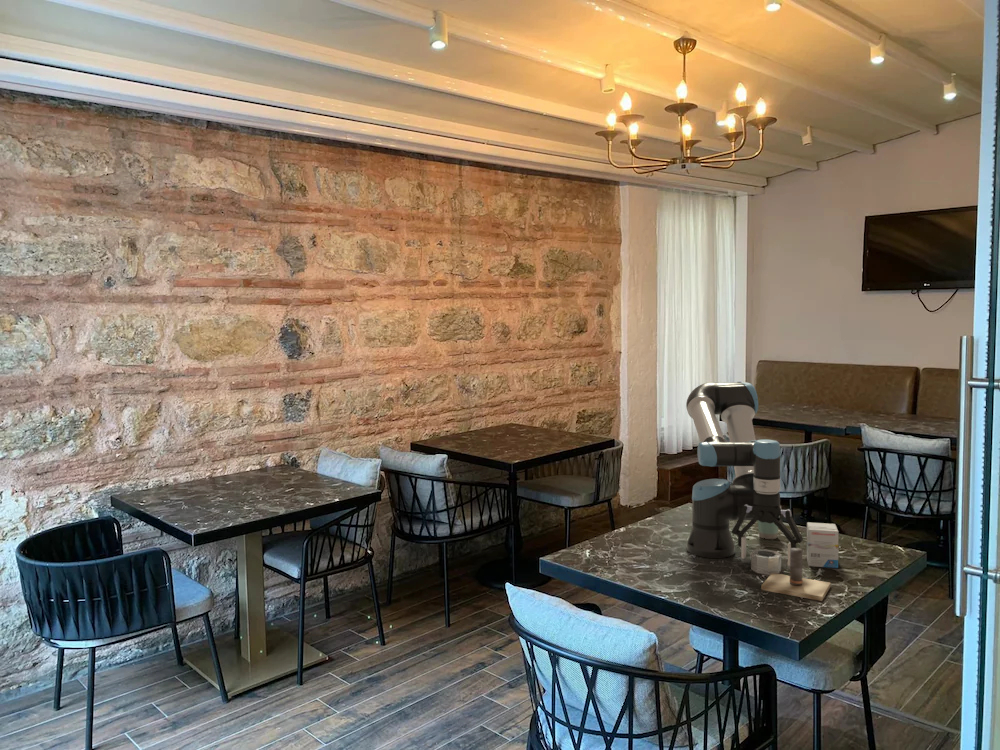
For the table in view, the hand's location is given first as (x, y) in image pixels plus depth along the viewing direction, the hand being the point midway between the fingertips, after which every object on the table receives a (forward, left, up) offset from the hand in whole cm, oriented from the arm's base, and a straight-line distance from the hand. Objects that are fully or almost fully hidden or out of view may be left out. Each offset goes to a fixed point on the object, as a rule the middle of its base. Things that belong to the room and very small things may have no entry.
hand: (766, 561), depth 223 cm
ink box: (+13, +15, -3) cm, 20 cm away
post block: (+11, -11, -3) cm, 15 cm away
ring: (0, 0, -3) cm, 3 cm away
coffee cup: (-8, +34, -3) cm, 36 cm away
